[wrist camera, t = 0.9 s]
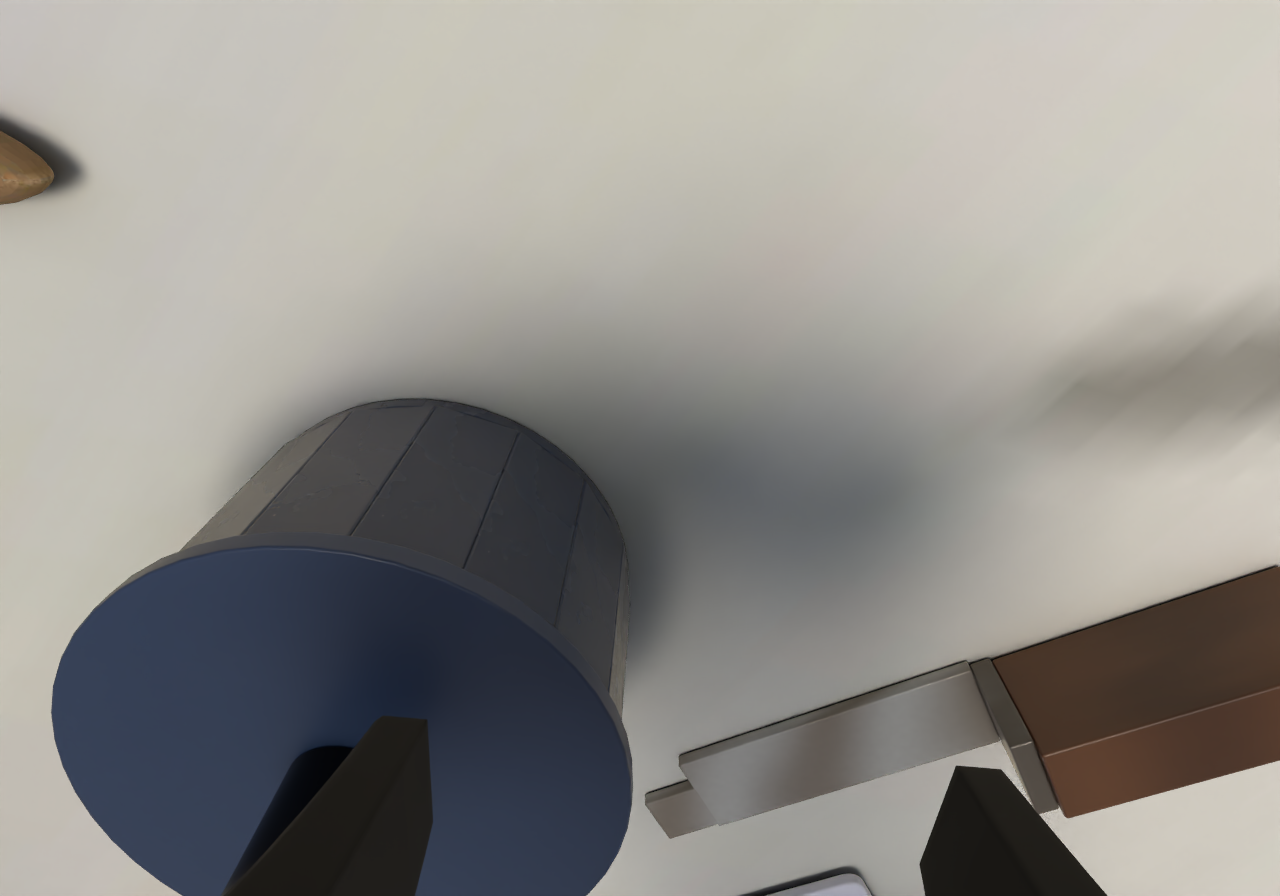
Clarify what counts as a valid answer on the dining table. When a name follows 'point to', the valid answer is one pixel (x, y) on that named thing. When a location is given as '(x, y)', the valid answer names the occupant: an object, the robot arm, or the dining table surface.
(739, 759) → the knife
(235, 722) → the pot lid
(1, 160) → the dagger
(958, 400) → the dining table surface
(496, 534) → the pot
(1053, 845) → the robot arm
